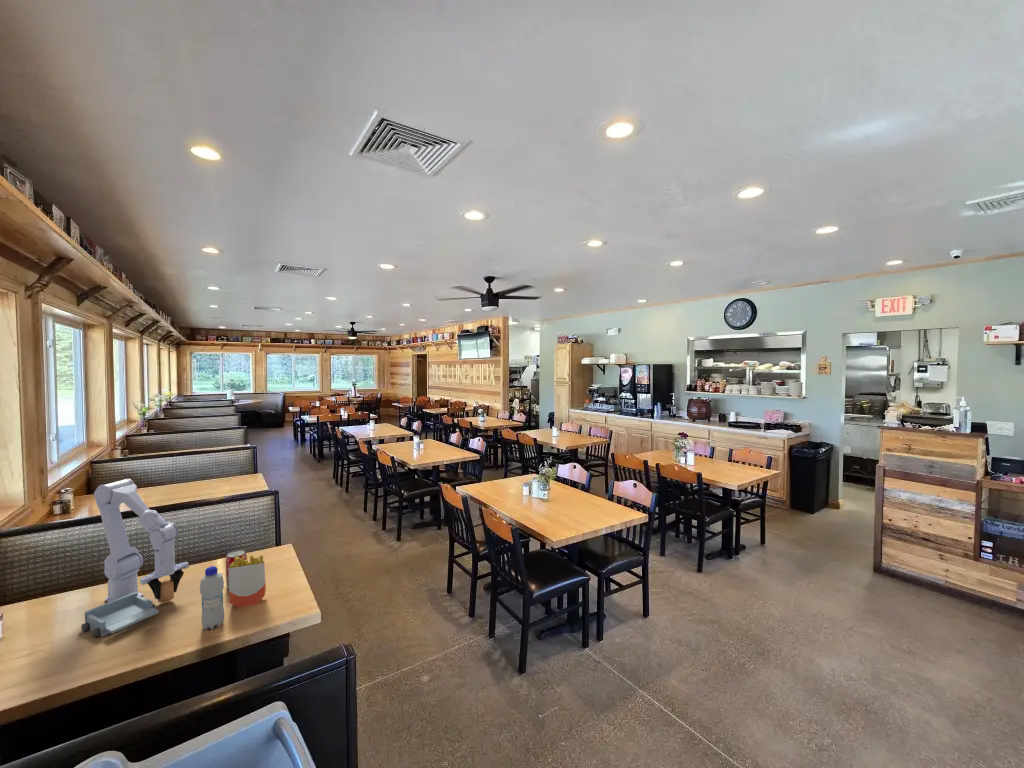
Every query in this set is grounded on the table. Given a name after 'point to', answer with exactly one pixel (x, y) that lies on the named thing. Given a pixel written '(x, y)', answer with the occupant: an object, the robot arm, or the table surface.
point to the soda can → (231, 559)
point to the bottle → (212, 598)
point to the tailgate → (131, 620)
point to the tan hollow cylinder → (166, 591)
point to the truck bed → (114, 613)
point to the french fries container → (247, 581)
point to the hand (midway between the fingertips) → (165, 594)
